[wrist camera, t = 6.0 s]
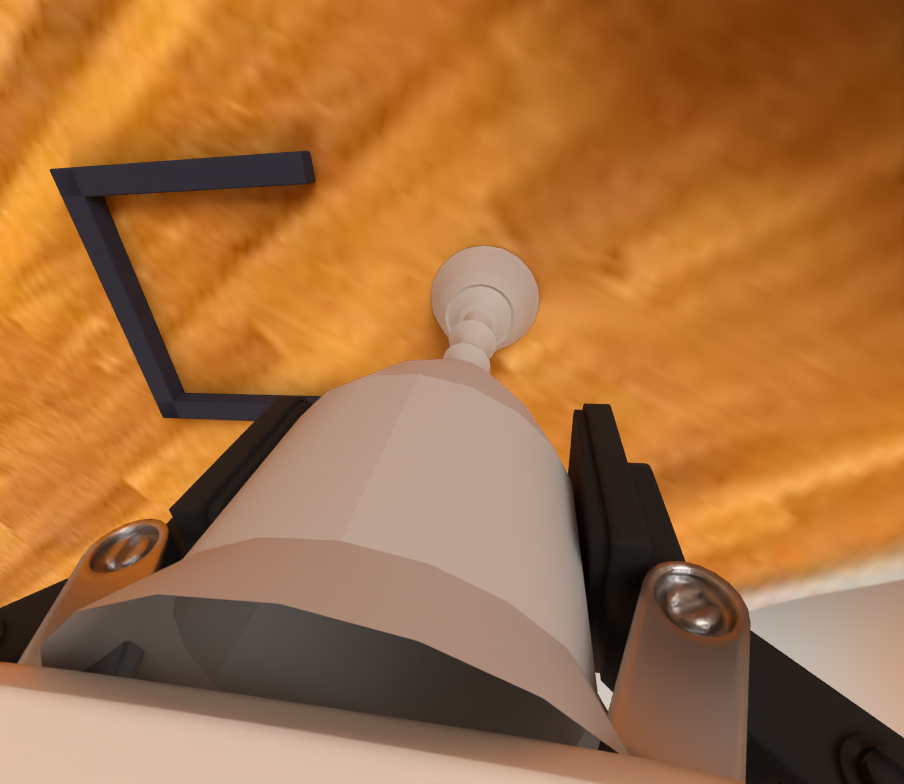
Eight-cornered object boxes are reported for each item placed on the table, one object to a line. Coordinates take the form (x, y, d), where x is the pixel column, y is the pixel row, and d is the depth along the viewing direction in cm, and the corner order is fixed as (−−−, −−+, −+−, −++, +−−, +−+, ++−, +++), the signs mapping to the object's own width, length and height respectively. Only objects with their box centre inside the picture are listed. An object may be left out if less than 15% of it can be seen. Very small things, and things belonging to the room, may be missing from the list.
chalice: (382, 308, 21) (10, 738, 6) (464, 186, 18) (104, 446, 3) (499, 393, 23) (435, 921, 7) (595, 293, 20) (837, 866, 4)
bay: (174, 409, 27) (162, 418, 26) (68, 167, 20) (48, 169, 19) (361, 415, 25) (355, 424, 24) (310, 150, 18) (299, 151, 18)
